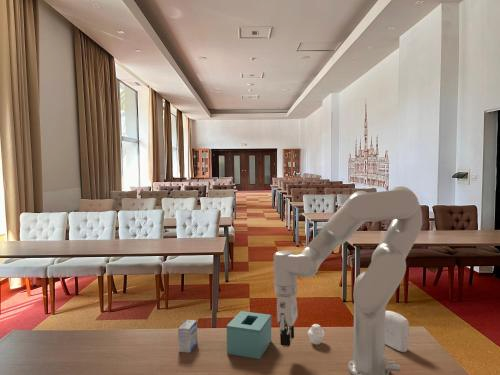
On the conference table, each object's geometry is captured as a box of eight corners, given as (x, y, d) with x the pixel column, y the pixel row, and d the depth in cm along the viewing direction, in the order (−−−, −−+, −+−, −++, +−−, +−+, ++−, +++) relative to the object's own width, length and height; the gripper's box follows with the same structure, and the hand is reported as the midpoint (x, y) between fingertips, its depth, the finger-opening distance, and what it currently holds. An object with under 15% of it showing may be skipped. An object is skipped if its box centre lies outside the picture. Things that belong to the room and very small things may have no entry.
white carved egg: (308, 346, 143) (308, 327, 143) (306, 338, 149) (306, 320, 149) (326, 346, 143) (326, 327, 143) (323, 338, 149) (323, 320, 149)
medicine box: (190, 353, 139) (189, 329, 138) (178, 352, 140) (177, 328, 139) (197, 343, 147) (197, 320, 146) (186, 342, 148) (185, 319, 147)
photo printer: (410, 350, 140) (411, 316, 139) (402, 353, 138) (403, 318, 137) (386, 339, 149) (387, 306, 148) (378, 342, 147) (379, 309, 146)
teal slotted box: (271, 341, 148) (271, 314, 147) (259, 359, 135) (259, 330, 134) (240, 336, 152) (240, 310, 151) (226, 353, 138) (226, 325, 138)
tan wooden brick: (292, 340, 136) (291, 326, 136) (288, 347, 132) (288, 332, 131) (286, 340, 137) (286, 326, 137) (282, 346, 132) (282, 332, 132)
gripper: (291, 297, 124) (292, 354, 125) (302, 281, 140) (303, 332, 141) (267, 296, 126) (269, 351, 127) (281, 280, 142) (282, 330, 143)
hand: (287, 340), depth 134 cm, fingers closed on tan wooden brick, 4 cm apart
